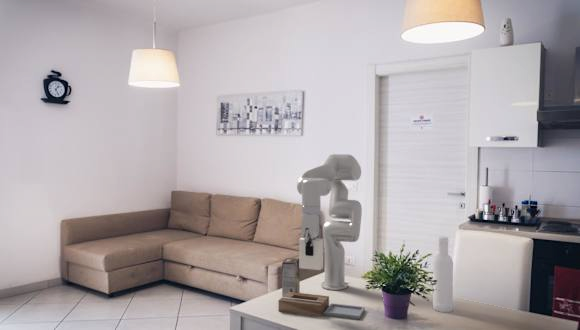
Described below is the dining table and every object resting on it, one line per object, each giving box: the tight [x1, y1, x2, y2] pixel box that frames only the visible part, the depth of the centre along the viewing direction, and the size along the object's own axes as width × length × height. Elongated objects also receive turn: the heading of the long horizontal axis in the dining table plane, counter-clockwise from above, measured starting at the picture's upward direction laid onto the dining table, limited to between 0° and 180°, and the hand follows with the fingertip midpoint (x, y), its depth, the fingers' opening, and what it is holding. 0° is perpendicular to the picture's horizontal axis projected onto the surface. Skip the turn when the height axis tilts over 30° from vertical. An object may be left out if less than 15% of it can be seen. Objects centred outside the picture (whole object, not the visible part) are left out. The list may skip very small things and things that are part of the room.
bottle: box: [432, 235, 454, 313], centre depth 197 cm, size 8×8×30 cm
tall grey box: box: [281, 257, 301, 298], centre depth 215 cm, size 9×6×16 cm
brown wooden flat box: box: [278, 292, 330, 317], centre depth 198 cm, size 12×18×5 cm, turn 70°
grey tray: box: [323, 302, 366, 321], centre depth 193 cm, size 11×14×2 cm
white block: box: [298, 237, 324, 271], centre depth 196 cm, size 4×9×12 cm, turn 69°
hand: (311, 253), depth 196 cm, fingers closed on white block, 4 cm apart
